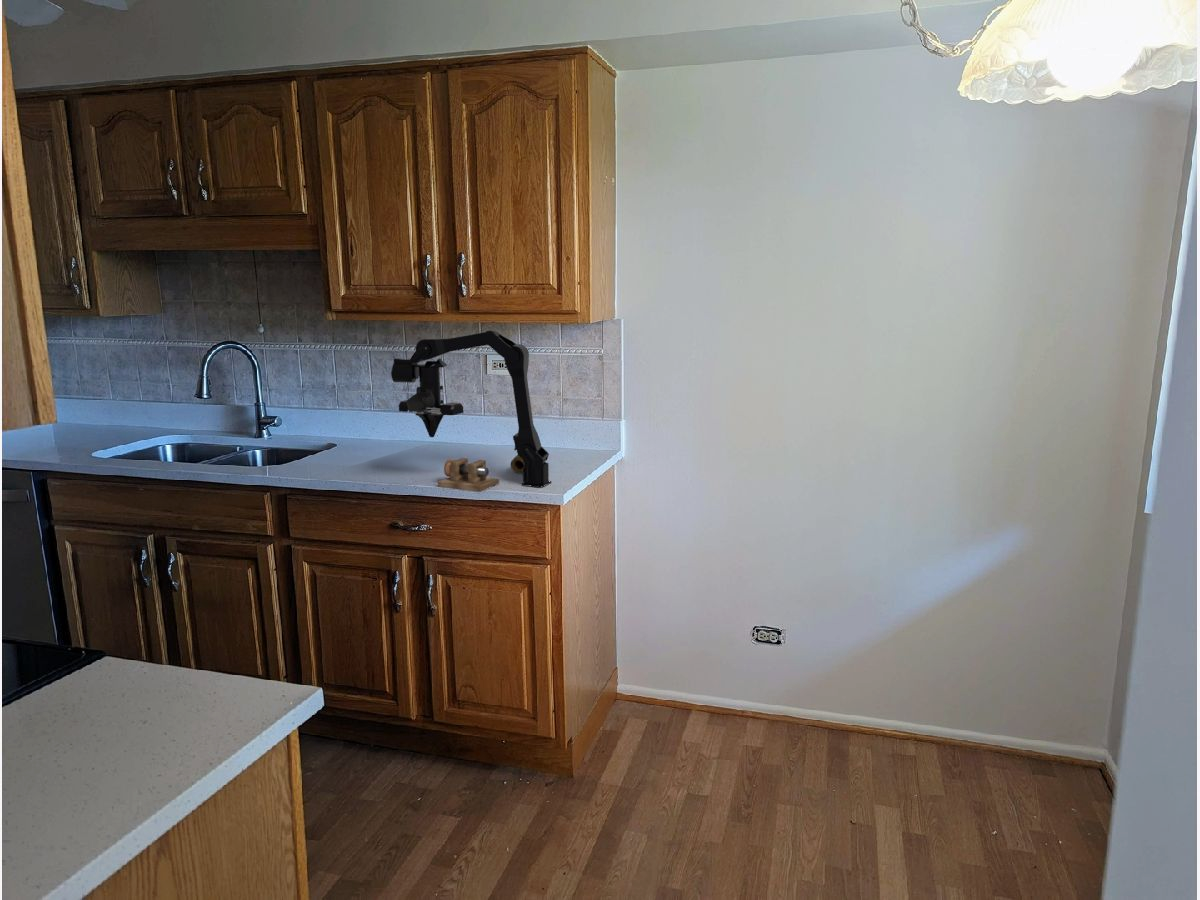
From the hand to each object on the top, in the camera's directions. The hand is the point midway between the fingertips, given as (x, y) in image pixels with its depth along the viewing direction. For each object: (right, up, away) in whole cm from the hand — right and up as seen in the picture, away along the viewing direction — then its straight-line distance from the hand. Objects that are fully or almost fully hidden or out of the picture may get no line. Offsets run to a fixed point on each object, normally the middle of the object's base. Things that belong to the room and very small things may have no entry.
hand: (431, 437), depth 245 cm
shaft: (+11, -12, -3) cm, 16 cm away
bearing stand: (+11, -14, -2) cm, 18 cm away
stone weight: (+26, -10, +18) cm, 33 cm away
